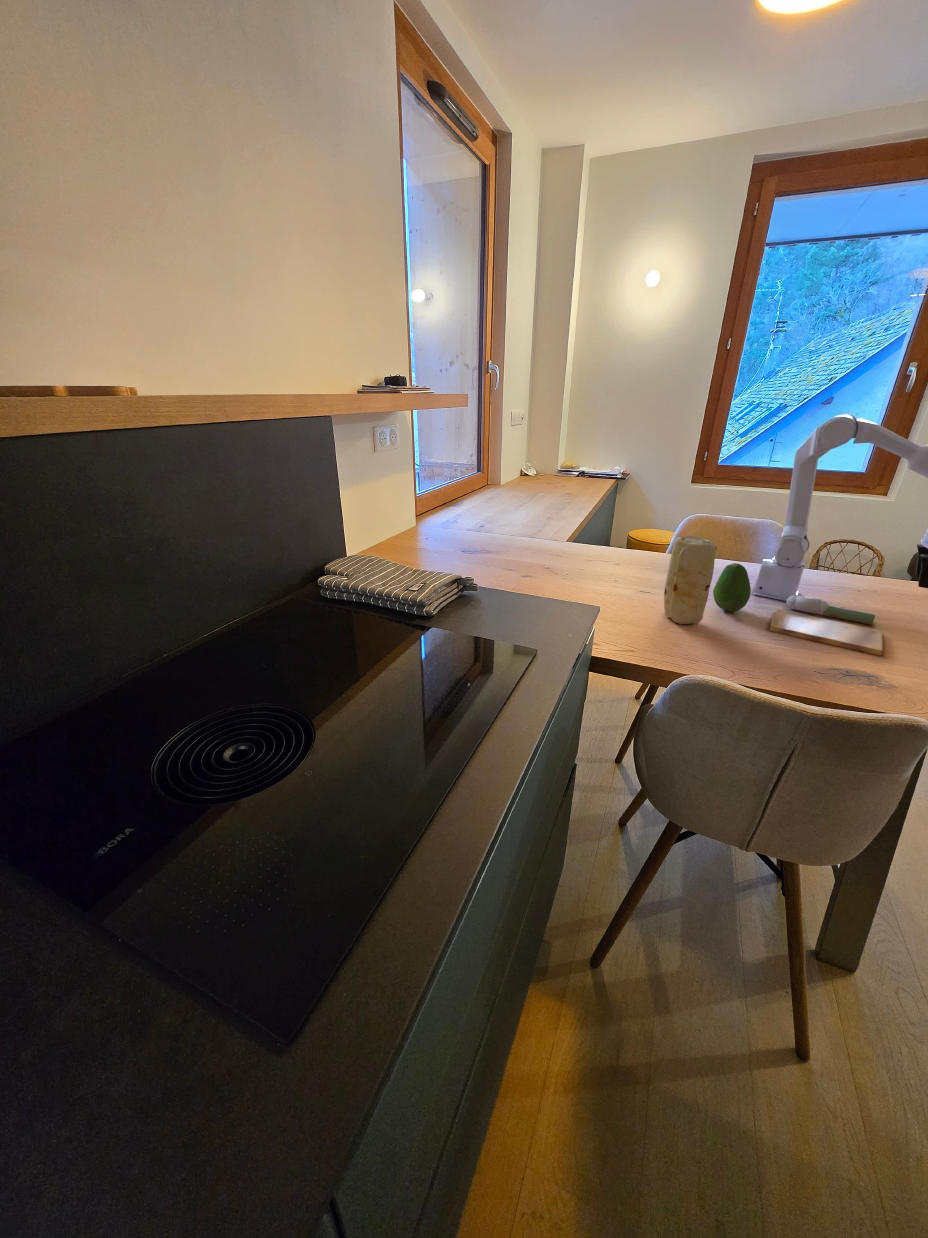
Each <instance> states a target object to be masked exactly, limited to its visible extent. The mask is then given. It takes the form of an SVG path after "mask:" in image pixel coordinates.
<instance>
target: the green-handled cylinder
mask: <svg viewBox="0 0 928 1238" xmlns="http://www.w3.org/2000/svg"><path fill="white" fill-rule="evenodd" d="M785 602H786V606H787V607H788V609H791V610H793V611H799V612H804V613H808V614H814V615H824V616H825V617H829V618H834V619H840V620H845V621H849V622H855V623H860V624H863V625H864V624H865V625H870V626H873V624H874V621H875V619H876V614H875V613H871V612H866V611H862V610H856V609H850V608H845V607H841V606H834V605H830V604H829V603H828V602H827V601H826V600H824V599H820V598H816V597H809V596H804V595H799V594H798V595H792V596H790V597H789V598H788V599H787V601H785Z"/></svg>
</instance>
